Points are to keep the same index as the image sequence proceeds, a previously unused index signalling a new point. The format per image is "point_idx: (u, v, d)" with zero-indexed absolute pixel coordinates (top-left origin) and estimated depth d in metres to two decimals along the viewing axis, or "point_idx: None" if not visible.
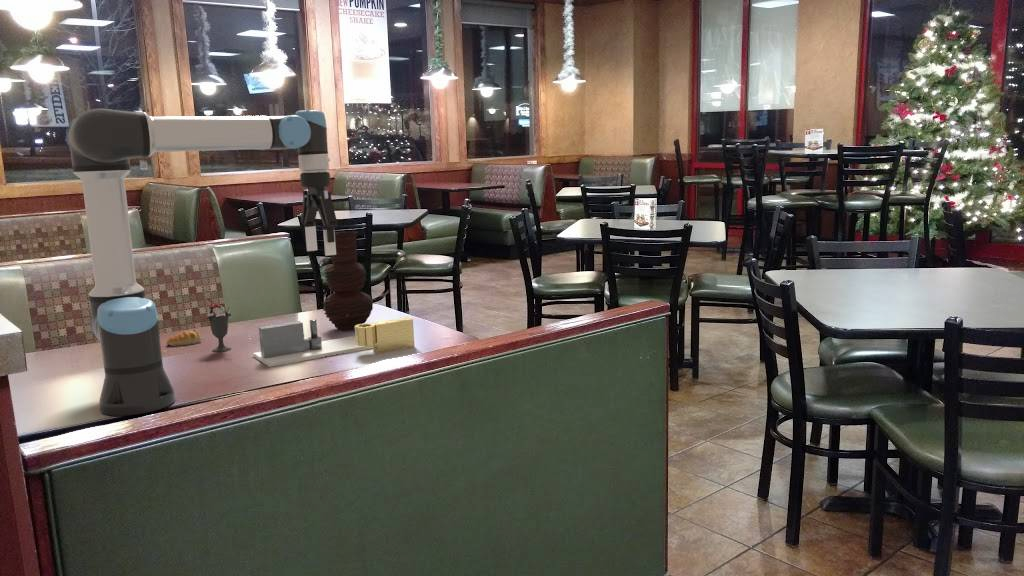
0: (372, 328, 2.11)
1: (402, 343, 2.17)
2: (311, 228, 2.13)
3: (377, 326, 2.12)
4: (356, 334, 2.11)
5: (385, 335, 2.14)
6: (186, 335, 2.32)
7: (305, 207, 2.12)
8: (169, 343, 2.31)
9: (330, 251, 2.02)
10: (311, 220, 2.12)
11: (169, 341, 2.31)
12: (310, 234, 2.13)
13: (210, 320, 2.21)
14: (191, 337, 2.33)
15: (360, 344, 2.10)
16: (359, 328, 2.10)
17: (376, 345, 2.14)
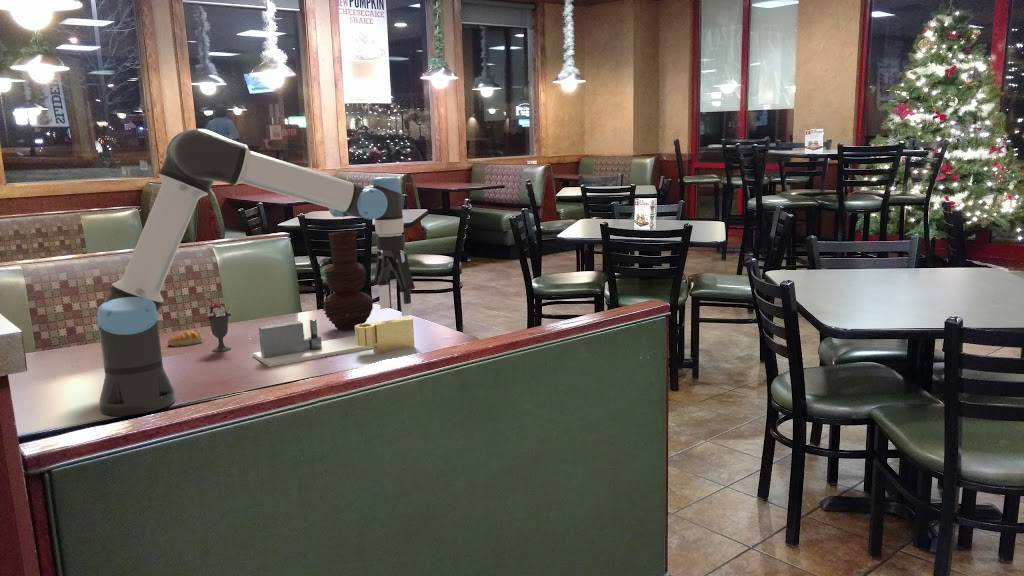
0: (372, 328, 2.11)
1: (402, 343, 2.17)
2: (384, 287, 2.21)
3: (377, 326, 2.12)
4: (356, 334, 2.11)
5: (385, 335, 2.14)
6: (187, 335, 2.32)
7: (379, 267, 2.20)
8: (170, 343, 2.31)
9: (406, 312, 2.11)
10: (384, 279, 2.20)
11: (170, 341, 2.30)
12: (383, 292, 2.21)
13: (210, 320, 2.21)
14: (192, 337, 2.33)
15: (360, 344, 2.10)
16: (359, 328, 2.10)
17: (376, 345, 2.14)
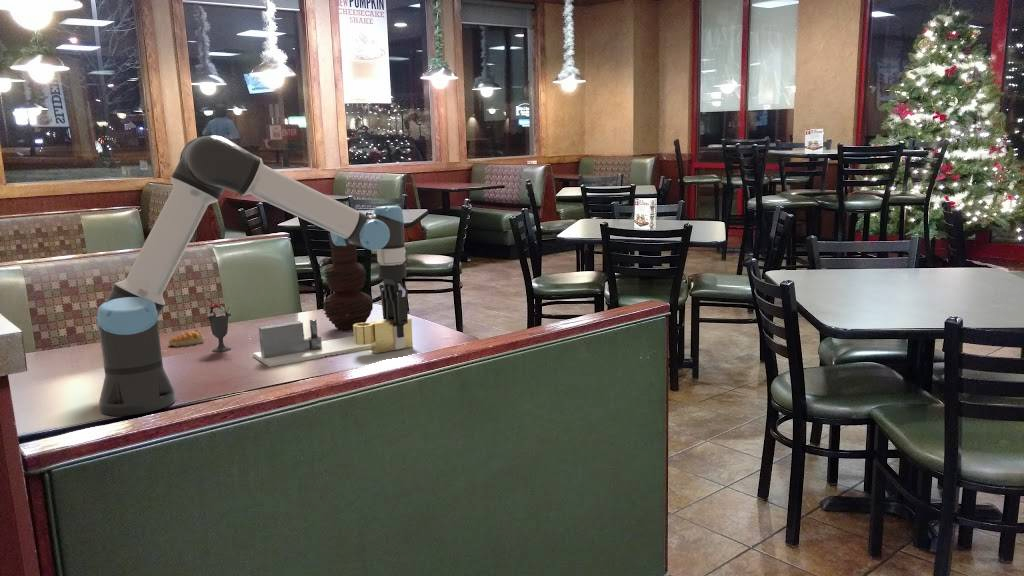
0: (370, 327, 2.10)
1: None
2: None
3: (375, 325, 2.12)
4: (354, 333, 2.11)
5: (383, 335, 2.14)
6: (189, 335, 2.32)
7: (384, 300, 2.19)
8: (172, 343, 2.30)
9: (399, 345, 2.16)
10: (392, 314, 2.18)
11: (172, 341, 2.30)
12: None
13: (210, 320, 2.21)
14: (194, 338, 2.32)
15: (358, 343, 2.10)
16: (357, 327, 2.09)
17: (374, 344, 2.13)
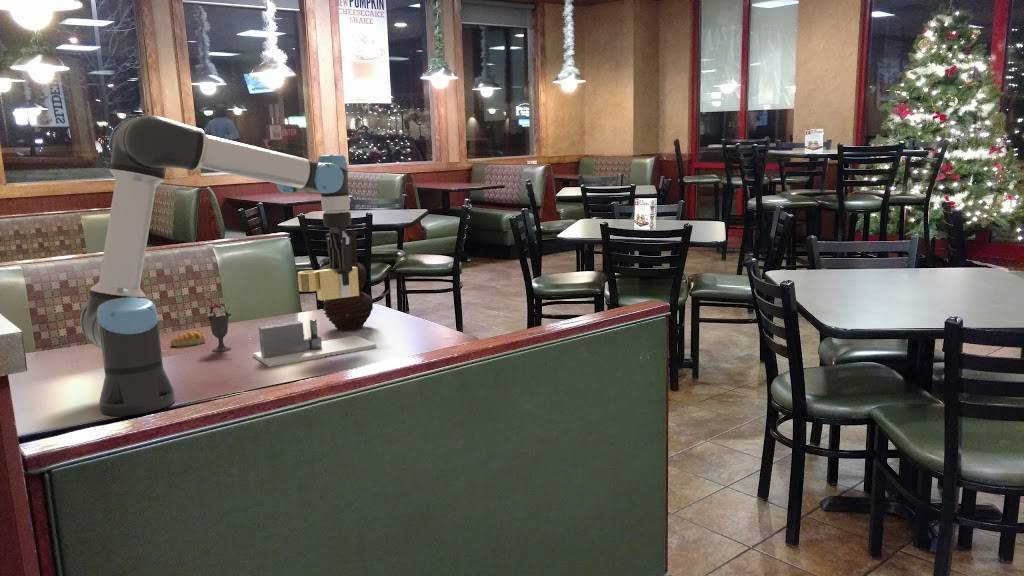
0: (315, 274, 2.13)
1: None
2: None
3: (320, 273, 2.14)
4: (299, 280, 2.13)
5: (328, 282, 2.16)
6: (191, 335, 2.32)
7: (330, 250, 2.21)
8: (174, 344, 2.30)
9: (345, 293, 2.18)
10: (338, 263, 2.20)
11: (174, 342, 2.30)
12: None
13: (210, 320, 2.21)
14: (196, 338, 2.32)
15: (303, 290, 2.12)
16: (302, 274, 2.12)
17: (319, 292, 2.16)
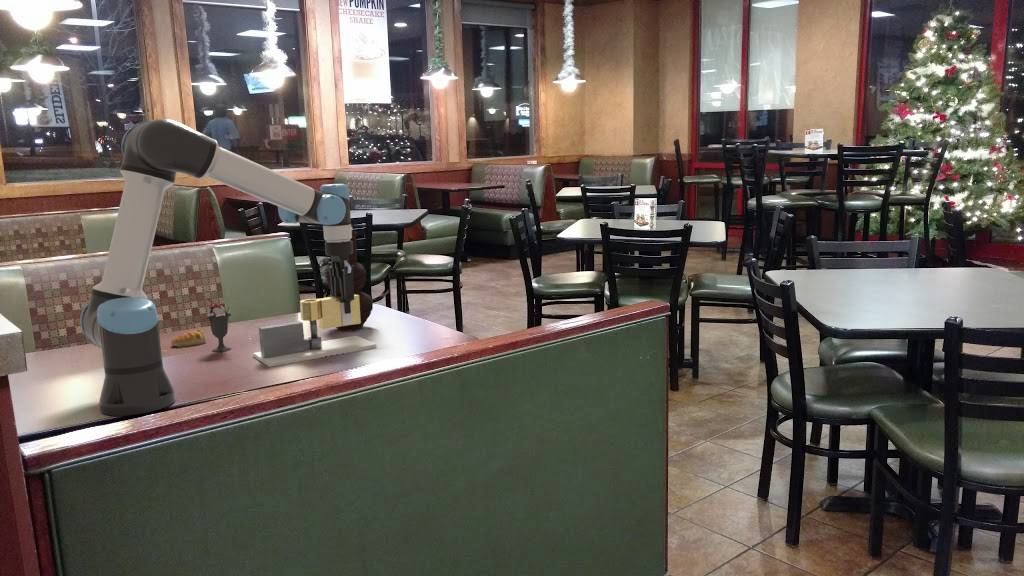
0: (317, 303, 2.14)
1: None
2: None
3: (322, 301, 2.16)
4: (301, 309, 2.14)
5: (330, 311, 2.17)
6: (192, 335, 2.31)
7: (332, 278, 2.23)
8: (175, 344, 2.30)
9: (347, 321, 2.20)
10: (340, 291, 2.22)
11: (175, 342, 2.29)
12: None
13: (210, 320, 2.21)
14: (197, 338, 2.32)
15: (305, 319, 2.14)
16: (304, 303, 2.13)
17: (321, 320, 2.17)
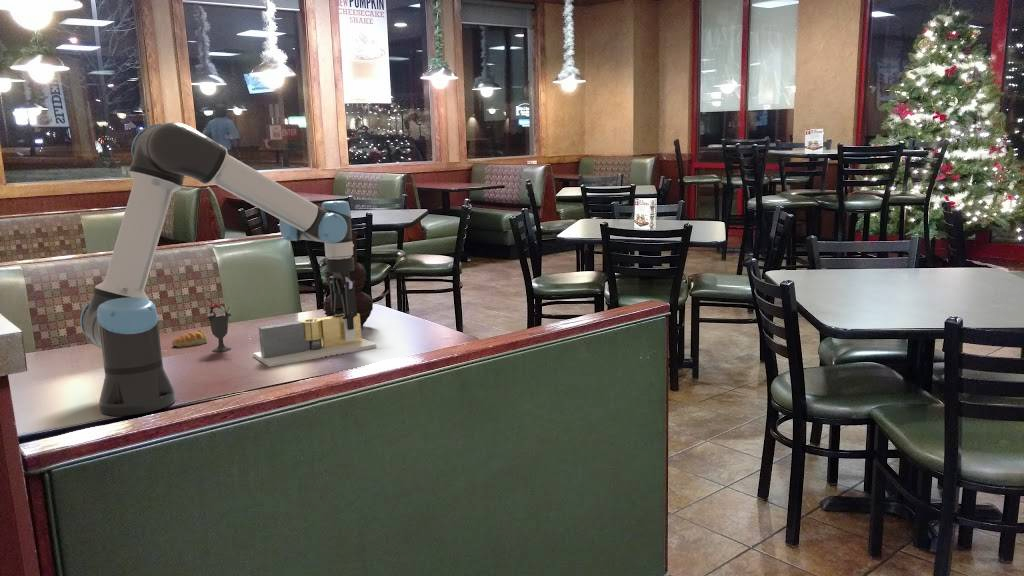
0: (318, 323, 2.15)
1: None
2: None
3: (323, 321, 2.16)
4: None
5: (331, 330, 2.18)
6: (193, 336, 2.31)
7: (332, 293, 2.24)
8: (176, 344, 2.29)
9: (350, 337, 2.19)
10: (340, 306, 2.23)
11: (176, 342, 2.29)
12: None
13: (210, 320, 2.21)
14: (198, 338, 2.32)
15: (306, 338, 2.14)
16: (305, 323, 2.14)
17: (322, 340, 2.18)
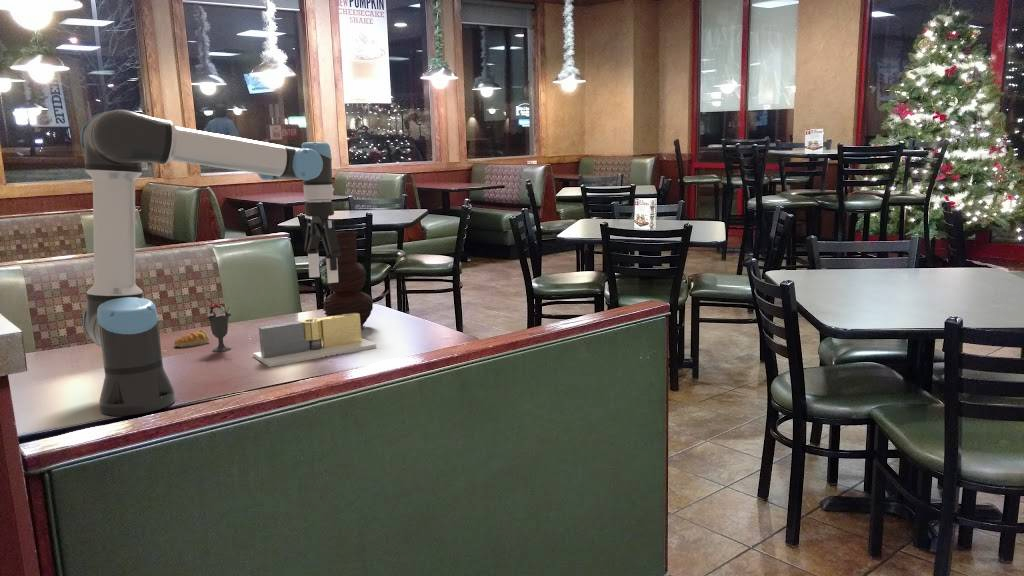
0: (318, 323, 2.15)
1: (349, 337, 2.21)
2: (314, 255, 2.18)
3: (323, 321, 2.16)
4: None
5: (331, 330, 2.18)
6: (195, 336, 2.31)
7: (308, 235, 2.17)
8: (178, 344, 2.29)
9: (332, 279, 2.08)
10: (314, 247, 2.18)
11: (178, 342, 2.29)
12: (313, 261, 2.18)
13: (210, 320, 2.21)
14: (200, 338, 2.32)
15: (306, 338, 2.14)
16: (305, 323, 2.14)
17: (322, 340, 2.18)
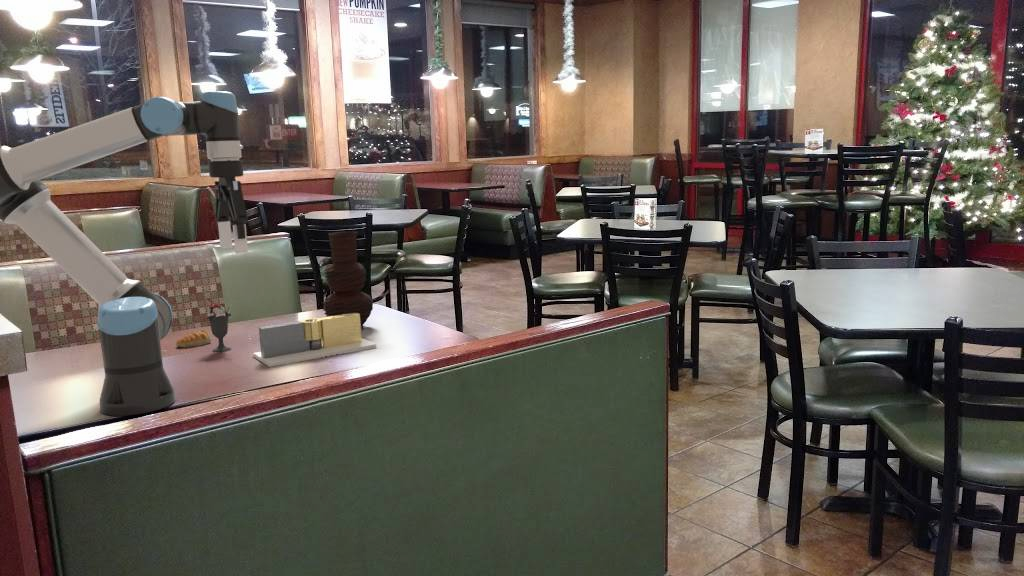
0: (318, 323, 2.15)
1: (349, 337, 2.21)
2: (225, 223, 1.92)
3: (323, 321, 2.16)
4: None
5: (331, 330, 2.18)
6: (197, 336, 2.31)
7: (218, 200, 1.91)
8: (180, 344, 2.28)
9: (241, 248, 1.81)
10: (224, 214, 1.91)
11: (180, 342, 2.28)
12: (224, 230, 1.92)
13: (210, 320, 2.21)
14: (202, 338, 2.31)
15: (306, 338, 2.14)
16: (305, 323, 2.14)
17: (322, 340, 2.18)
